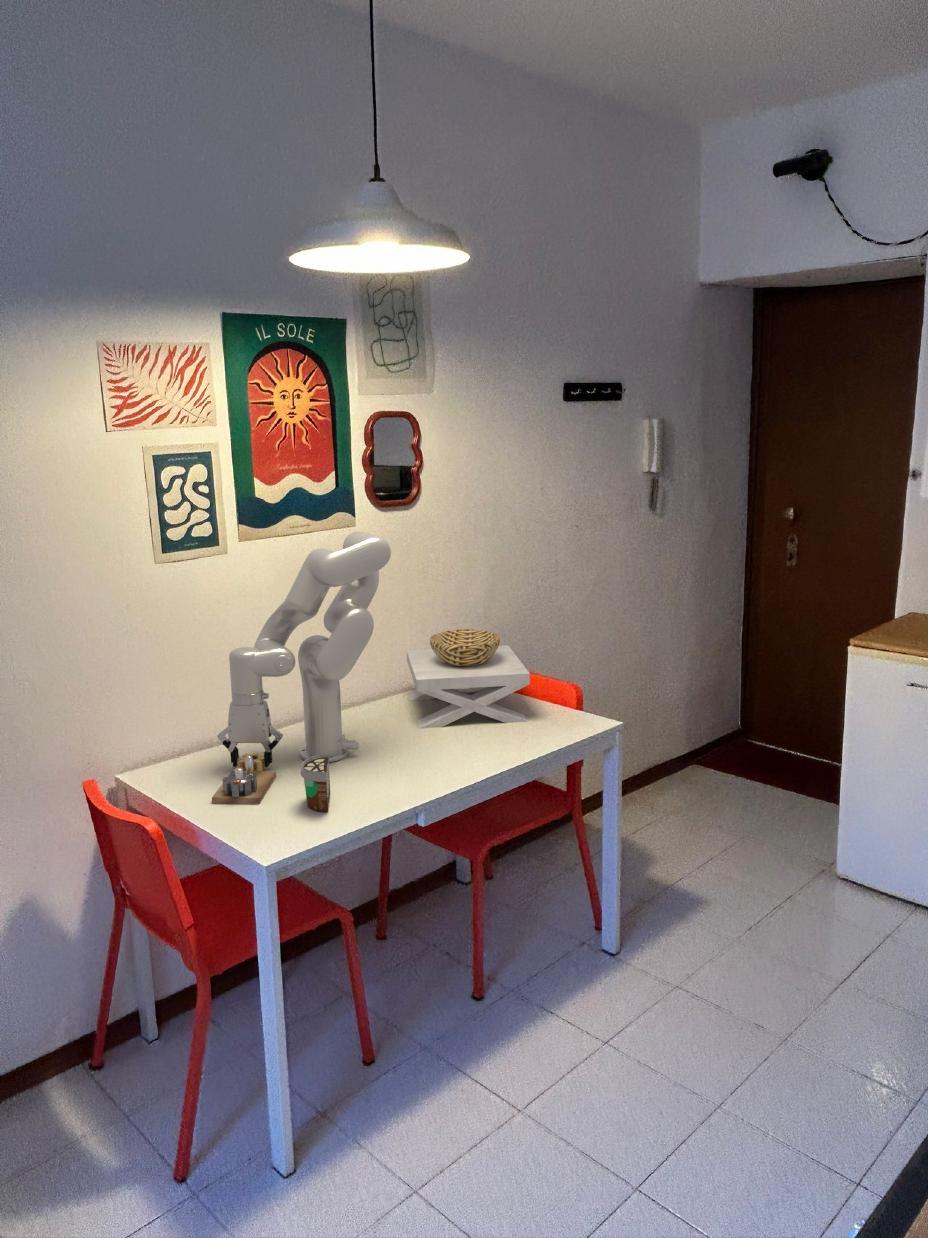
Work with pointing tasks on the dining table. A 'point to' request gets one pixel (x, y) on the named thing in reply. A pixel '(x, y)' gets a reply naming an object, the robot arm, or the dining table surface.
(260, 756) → the wooden gear
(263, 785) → the gear board
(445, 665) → the stand with wicker basket
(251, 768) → the peg
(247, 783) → the gear
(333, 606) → the robot arm
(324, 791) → the food container
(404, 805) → the dining table surface
